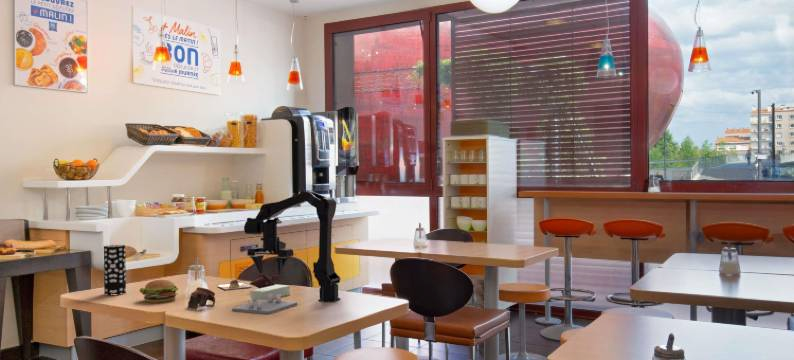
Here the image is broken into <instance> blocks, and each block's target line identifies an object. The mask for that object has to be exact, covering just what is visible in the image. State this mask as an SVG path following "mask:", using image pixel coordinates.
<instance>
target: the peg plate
mask: <svg viewBox="0 0 794 360" xmlns="http://www.w3.org/2000/svg"><path fill="white" fill-rule="evenodd" d="M275 299H276V300H275ZM275 299H273V294H268V300H263V299H261V300H253V299H251V298H250V299H248V302H247V303H244V304H242V305H241V304H240V305H239V306H235V307H232V308H231V311H232V312H239V313H240V312H241V313H252V314H264V315H270V314H275V313H277V312H280V311H283V310H285V309H289V308H292V307H295V306H297V305H298V302H297V301H286V300H282V297H281V294H277V295H276V298H275Z"/></svg>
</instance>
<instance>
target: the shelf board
mask: <svg viewBox="0 0 794 360" xmlns="http://www.w3.org/2000/svg"><path fill="white" fill-rule="evenodd" d="M290 291H291V289H290V285H285V284H275V285H273V286H269V287H264V288H260V289H259V288H257V289H252V290H250V299H253V301H257V300H261V299H263V300H268V294H273V300H275V299H276V295H277V294H281V296H282V297H285V295H286V296H289V295H291V294H290V293H291V292H290Z"/></svg>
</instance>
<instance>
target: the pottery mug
mask: <svg viewBox="0 0 794 360" xmlns="http://www.w3.org/2000/svg"><path fill="white" fill-rule="evenodd" d="M215 295H216V293H215V292H214V291H212V290H210V289H209V288H204V287H199V286H198V287H196V289H195V290H194V291H192V292H191V294H190V297H189V300H188V303H187V308H190V309H195V310H198V306H199V307H200V308H202V307H203V308H204V307H206V305H207V302H208V301H210V302H211V303H212V306H215V303H216V297H215Z"/></svg>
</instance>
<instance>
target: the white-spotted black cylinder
mask: <svg viewBox="0 0 794 360" xmlns="http://www.w3.org/2000/svg"><path fill="white" fill-rule="evenodd" d="M126 270H127V269H126V245H125V244H112V245H111V244H109V245H103V283H104V285H103V286H104V287H103V291H104V294H106V295H105V296H112V295H111V294H122V293H125V294H126V293H127V277H126V276H127V274H126V273H127V271H126ZM122 295H123V294H122Z"/></svg>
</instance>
